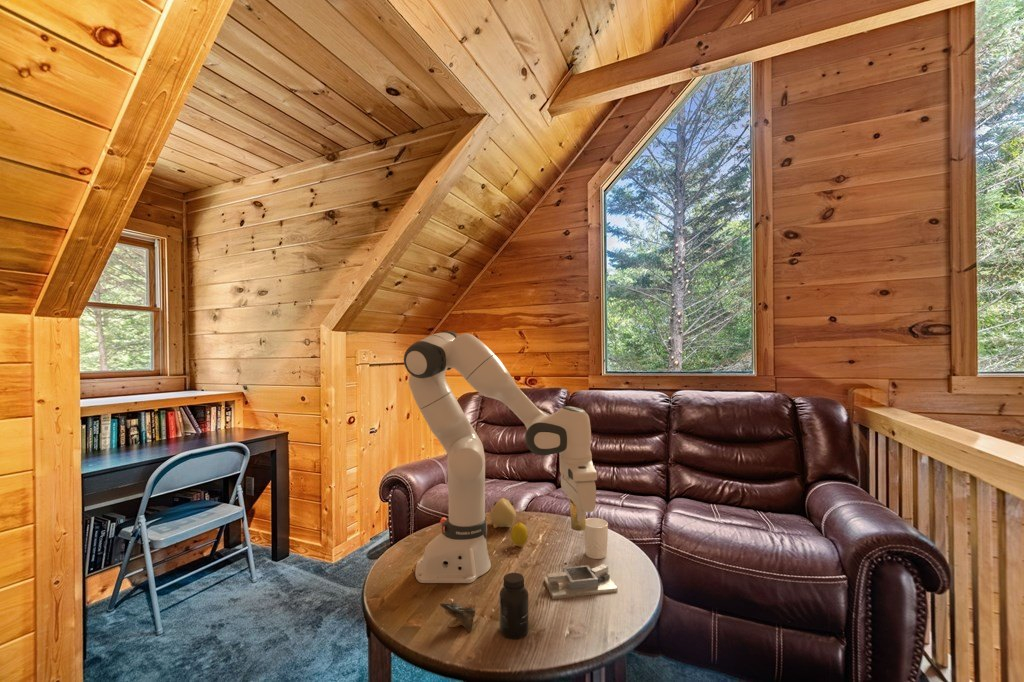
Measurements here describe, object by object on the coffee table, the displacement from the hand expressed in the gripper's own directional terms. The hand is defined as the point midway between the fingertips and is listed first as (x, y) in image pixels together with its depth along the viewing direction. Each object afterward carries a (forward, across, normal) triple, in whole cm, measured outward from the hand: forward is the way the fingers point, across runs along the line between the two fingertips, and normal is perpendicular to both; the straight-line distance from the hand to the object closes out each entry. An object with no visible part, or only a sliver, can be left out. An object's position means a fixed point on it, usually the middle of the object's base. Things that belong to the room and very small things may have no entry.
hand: (577, 516), depth 114 cm
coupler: (+3, 0, 0) cm, 3 cm away
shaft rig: (+19, -1, +1) cm, 19 cm away
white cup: (+20, -18, +11) cm, 29 cm away
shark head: (+19, +10, -33) cm, 40 cm away
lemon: (+20, -27, -12) cm, 36 cm away
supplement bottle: (+20, +14, -20) cm, 31 cm away
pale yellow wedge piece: (+20, -44, -15) cm, 51 cm away
